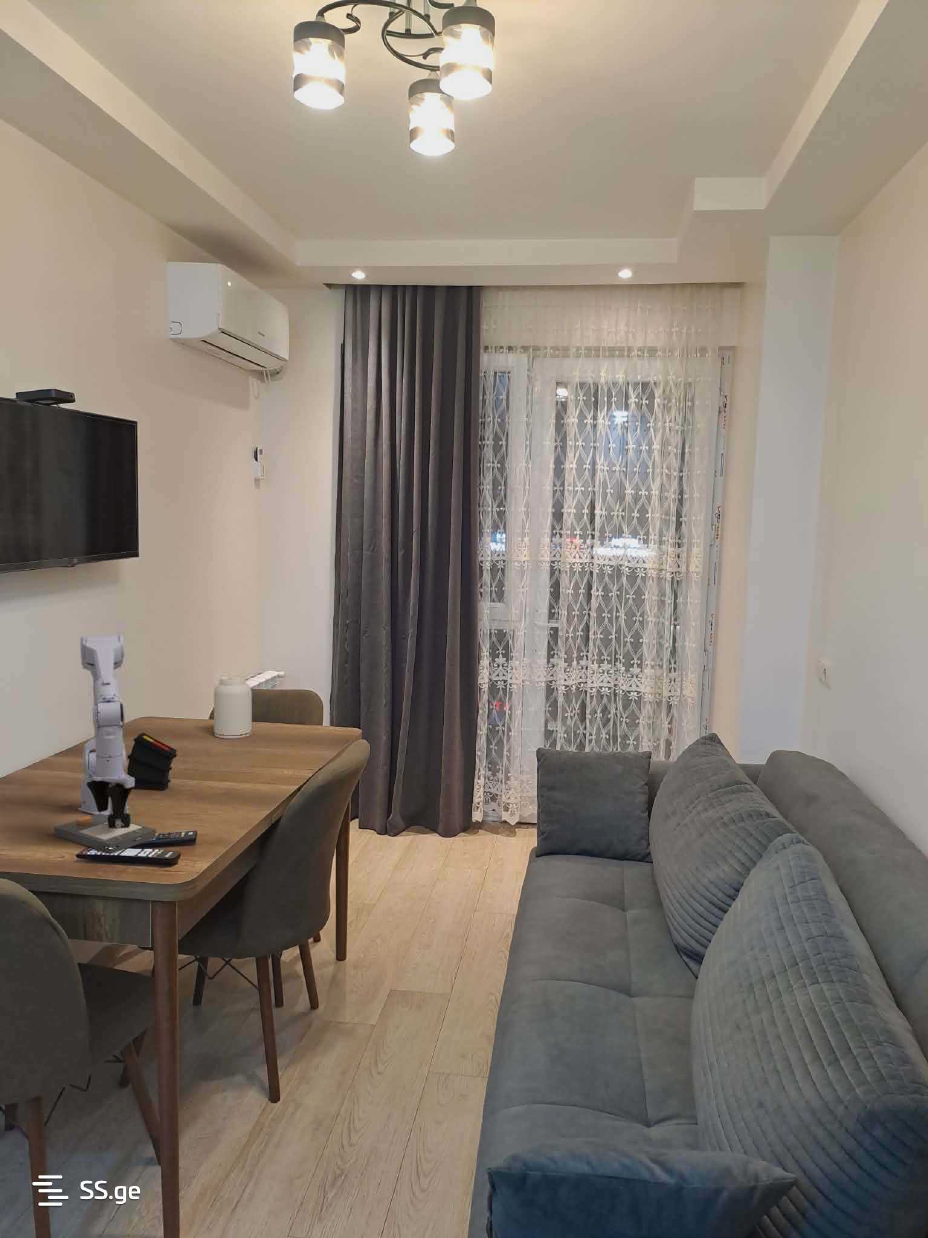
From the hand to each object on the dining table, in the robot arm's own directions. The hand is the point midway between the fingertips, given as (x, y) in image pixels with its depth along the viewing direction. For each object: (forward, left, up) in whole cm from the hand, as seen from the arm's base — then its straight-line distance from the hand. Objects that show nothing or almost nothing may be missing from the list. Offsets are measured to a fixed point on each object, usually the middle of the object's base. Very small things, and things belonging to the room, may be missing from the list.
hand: (110, 813), depth 202 cm
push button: (0, +2, -4) cm, 4 cm away
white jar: (-52, +88, -6) cm, 102 cm away
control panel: (-2, 0, -6) cm, 6 cm away
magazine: (-24, +31, -6) cm, 40 cm away
